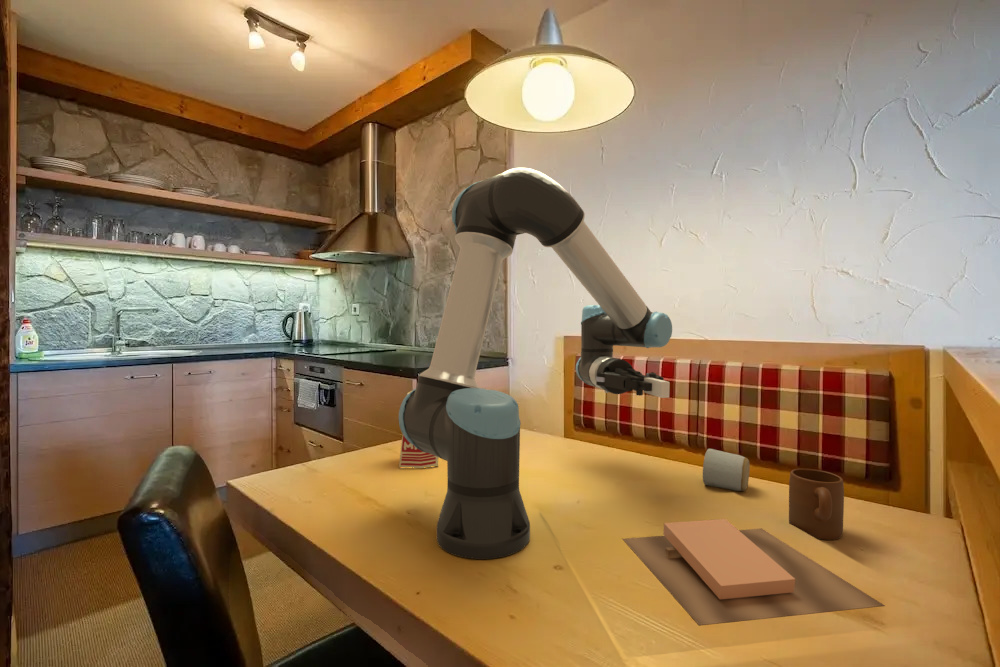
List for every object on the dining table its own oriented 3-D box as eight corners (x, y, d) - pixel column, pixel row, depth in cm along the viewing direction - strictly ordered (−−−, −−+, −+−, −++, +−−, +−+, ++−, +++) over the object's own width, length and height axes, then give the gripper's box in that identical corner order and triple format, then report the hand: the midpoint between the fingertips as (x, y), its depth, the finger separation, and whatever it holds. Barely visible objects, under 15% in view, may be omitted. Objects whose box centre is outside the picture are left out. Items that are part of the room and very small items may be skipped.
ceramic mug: (745, 497, 94) (746, 458, 94) (701, 488, 98) (702, 452, 98) (751, 482, 102) (752, 447, 102) (711, 475, 107) (711, 442, 107)
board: (698, 635, 52) (699, 614, 52) (622, 546, 73) (622, 531, 73) (884, 615, 56) (885, 595, 56) (761, 535, 77) (761, 521, 77)
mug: (856, 558, 70) (857, 495, 69) (796, 547, 73) (797, 487, 73) (836, 525, 81) (838, 471, 80) (785, 518, 84) (786, 465, 84)
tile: (663, 536, 71) (719, 601, 57) (664, 523, 70) (721, 585, 57) (724, 531, 72) (793, 594, 58) (725, 518, 72) (795, 579, 58)
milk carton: (402, 459, 119) (401, 380, 119) (438, 457, 120) (438, 380, 120) (398, 470, 110) (397, 385, 110) (438, 469, 111) (437, 384, 111)
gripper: (639, 391, 104) (700, 411, 81) (583, 392, 102) (628, 412, 79) (640, 357, 104) (701, 367, 81) (583, 357, 102) (629, 367, 79)
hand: (665, 389), depth 80 cm, fingers closed
